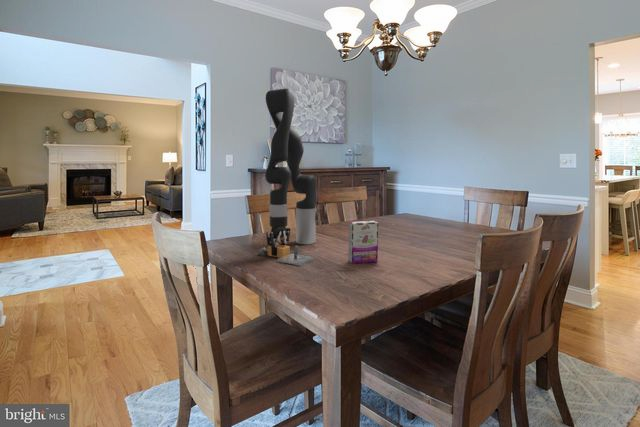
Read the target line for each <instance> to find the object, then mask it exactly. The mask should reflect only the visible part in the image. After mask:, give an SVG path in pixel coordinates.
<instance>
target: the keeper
mask: <svg viewBox="0 0 640 427" xmlns="http://www.w3.org/2000/svg"><path fill="white" fill-rule="evenodd" d="M313 261H315V256H310V255H308V256H307V255H303V254H299V245H294V246H293V253H290V254H289V255H287V256H284V257H281V258H279V257H277V263H283V264H288V265H294V266H299V267H301V266H305V265H306V264H308V263H310V262H313Z"/></svg>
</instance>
